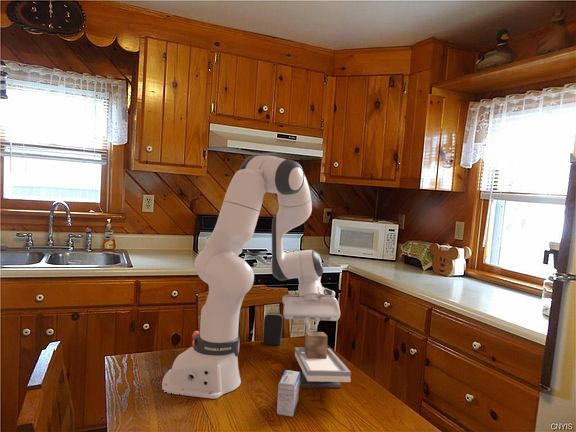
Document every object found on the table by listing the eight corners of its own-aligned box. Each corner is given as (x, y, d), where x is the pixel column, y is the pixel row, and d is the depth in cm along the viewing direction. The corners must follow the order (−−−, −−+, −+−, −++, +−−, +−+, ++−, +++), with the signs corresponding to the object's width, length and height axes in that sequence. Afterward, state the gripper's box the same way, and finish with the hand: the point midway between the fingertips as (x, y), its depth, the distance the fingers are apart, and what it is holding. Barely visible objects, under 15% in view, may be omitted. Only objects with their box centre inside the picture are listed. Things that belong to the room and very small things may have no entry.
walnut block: (308, 358, 128) (309, 335, 129) (304, 352, 135) (305, 331, 136) (326, 358, 129) (327, 336, 129) (322, 353, 136) (323, 332, 136)
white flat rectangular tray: (307, 381, 109) (307, 370, 110) (294, 355, 137) (295, 347, 137) (350, 382, 111) (350, 371, 111) (329, 356, 138) (329, 348, 138)
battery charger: (281, 341, 153) (283, 312, 152) (281, 345, 149) (283, 315, 148) (262, 340, 152) (264, 310, 151) (262, 344, 149) (264, 314, 148)
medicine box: (293, 417, 104) (295, 385, 103) (276, 414, 105) (278, 382, 104) (298, 401, 112) (300, 371, 111) (282, 398, 112) (284, 369, 112)
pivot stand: (301, 387, 120) (301, 374, 119) (297, 374, 128) (298, 362, 127) (340, 387, 121) (341, 375, 120) (335, 374, 129) (336, 363, 128)
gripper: (283, 289, 145) (283, 325, 136) (339, 291, 147) (343, 327, 138) (281, 297, 150) (281, 333, 141) (335, 300, 152) (339, 335, 143)
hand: (312, 330), depth 139 cm, fingers closed
